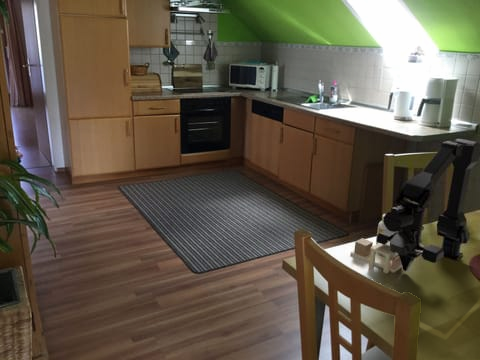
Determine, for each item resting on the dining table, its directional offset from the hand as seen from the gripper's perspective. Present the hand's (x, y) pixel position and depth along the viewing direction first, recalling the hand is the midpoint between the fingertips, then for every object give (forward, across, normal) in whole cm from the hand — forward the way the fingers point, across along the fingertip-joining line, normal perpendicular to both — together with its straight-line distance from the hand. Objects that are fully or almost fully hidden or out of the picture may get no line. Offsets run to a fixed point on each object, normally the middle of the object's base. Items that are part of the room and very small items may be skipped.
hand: (405, 270), depth 135 cm
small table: (+2, -3, 0) cm, 3 cm away
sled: (+1, -10, 0) cm, 10 cm away
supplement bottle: (+2, -13, +11) cm, 17 cm away
